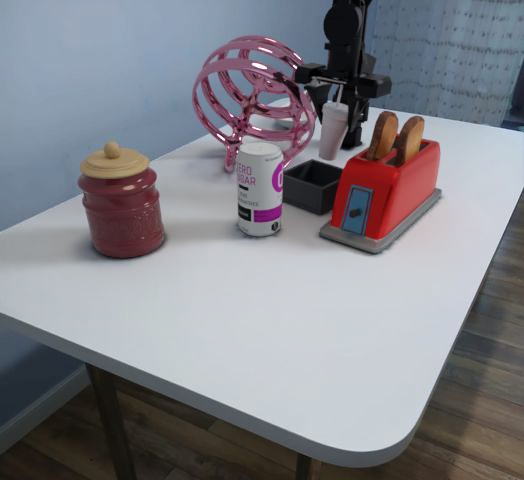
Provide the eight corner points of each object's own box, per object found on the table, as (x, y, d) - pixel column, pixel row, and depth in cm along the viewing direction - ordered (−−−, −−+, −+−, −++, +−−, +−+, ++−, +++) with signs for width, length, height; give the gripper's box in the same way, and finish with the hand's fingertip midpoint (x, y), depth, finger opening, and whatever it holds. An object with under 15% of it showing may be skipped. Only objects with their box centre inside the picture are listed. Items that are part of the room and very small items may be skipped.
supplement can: (286, 221, 96) (289, 142, 87) (273, 241, 90) (274, 158, 81) (247, 215, 98) (246, 137, 89) (232, 234, 92) (228, 152, 83)
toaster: (377, 256, 86) (397, 146, 74) (315, 236, 92) (323, 130, 80) (443, 195, 106) (467, 100, 94) (388, 181, 112) (404, 89, 99)
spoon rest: (302, 135, 135) (304, 107, 130) (265, 129, 140) (265, 101, 135) (336, 113, 151) (338, 87, 146) (301, 108, 155) (303, 82, 150)
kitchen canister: (163, 222, 96) (150, 126, 84) (168, 255, 86) (154, 153, 75) (94, 228, 94) (71, 131, 82) (91, 263, 84) (64, 159, 73)
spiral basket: (261, 105, 87) (302, -13, 94) (147, 122, 102) (189, 19, 108) (318, 198, 111) (348, 99, 117) (218, 201, 125) (250, 112, 131)
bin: (276, 198, 104) (277, 173, 101) (310, 182, 111) (312, 158, 107) (320, 215, 99) (322, 189, 95) (353, 197, 105) (356, 172, 102)
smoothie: (309, 147, 104) (325, 76, 94) (338, 150, 105) (357, 80, 95) (315, 162, 100) (332, 89, 90) (345, 165, 101) (365, 93, 91)
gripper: (414, 36, 88) (398, 128, 98) (329, 26, 97) (322, 111, 108) (381, 44, 82) (368, 142, 92) (294, 32, 91) (290, 122, 101)
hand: (336, 128), depth 98 cm, fingers closed on smoothie, 6 cm apart
